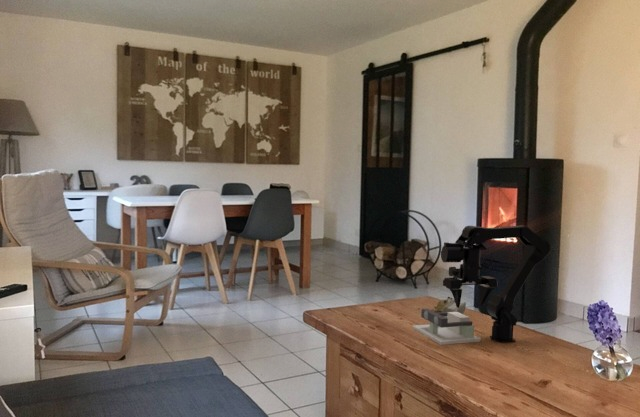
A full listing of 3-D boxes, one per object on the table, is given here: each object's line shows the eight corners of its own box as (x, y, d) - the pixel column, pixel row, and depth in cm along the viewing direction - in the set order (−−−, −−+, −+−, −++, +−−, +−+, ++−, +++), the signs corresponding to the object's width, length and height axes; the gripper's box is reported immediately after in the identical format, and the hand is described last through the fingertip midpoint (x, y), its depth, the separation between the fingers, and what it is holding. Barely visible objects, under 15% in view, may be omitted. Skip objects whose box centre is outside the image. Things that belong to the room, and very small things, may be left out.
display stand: (449, 325, 208) (450, 307, 207) (480, 341, 189) (481, 321, 188) (412, 328, 203) (413, 309, 202) (440, 344, 184) (441, 324, 183)
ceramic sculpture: (461, 300, 211) (425, 297, 219) (461, 322, 212) (425, 318, 220) (469, 296, 220) (434, 293, 228) (470, 317, 221) (434, 313, 229)
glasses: (450, 314, 204) (450, 307, 204) (472, 325, 191) (472, 316, 190) (421, 316, 200) (421, 308, 200) (441, 327, 187) (441, 319, 186)
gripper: (480, 258, 198) (478, 300, 199) (435, 259, 192) (433, 302, 193) (499, 263, 188) (497, 307, 189) (452, 264, 182) (450, 310, 183)
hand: (469, 306), depth 189 cm, fingers open, 9 cm apart
